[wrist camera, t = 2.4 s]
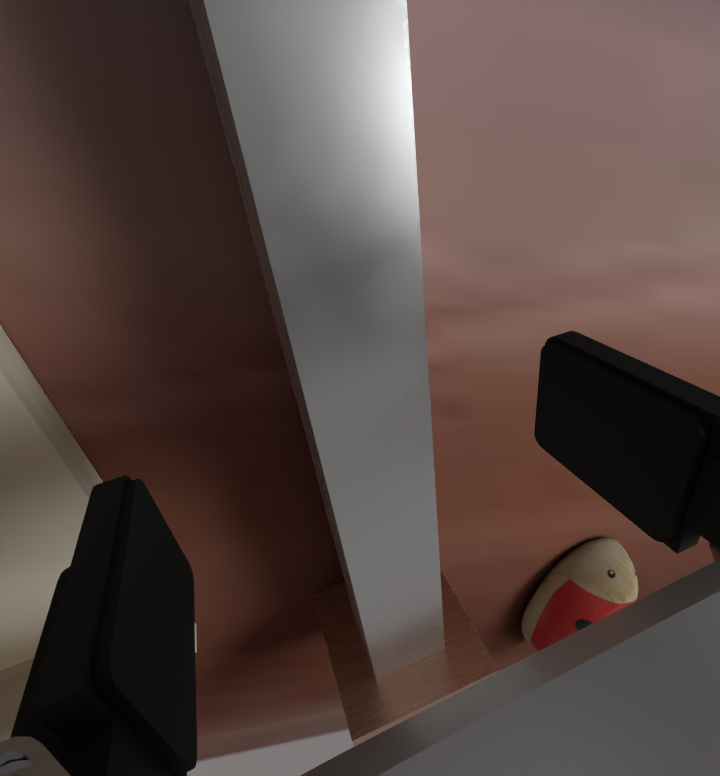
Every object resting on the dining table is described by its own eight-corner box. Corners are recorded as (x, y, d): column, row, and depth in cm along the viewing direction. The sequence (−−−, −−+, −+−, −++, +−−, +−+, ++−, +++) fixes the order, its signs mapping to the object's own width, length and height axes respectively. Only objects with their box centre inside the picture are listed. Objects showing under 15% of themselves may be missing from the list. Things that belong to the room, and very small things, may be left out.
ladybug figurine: (632, 526, 28) (683, 571, 25) (566, 623, 32) (604, 671, 29) (556, 535, 25) (603, 587, 22) (496, 639, 30) (529, 694, 27)
